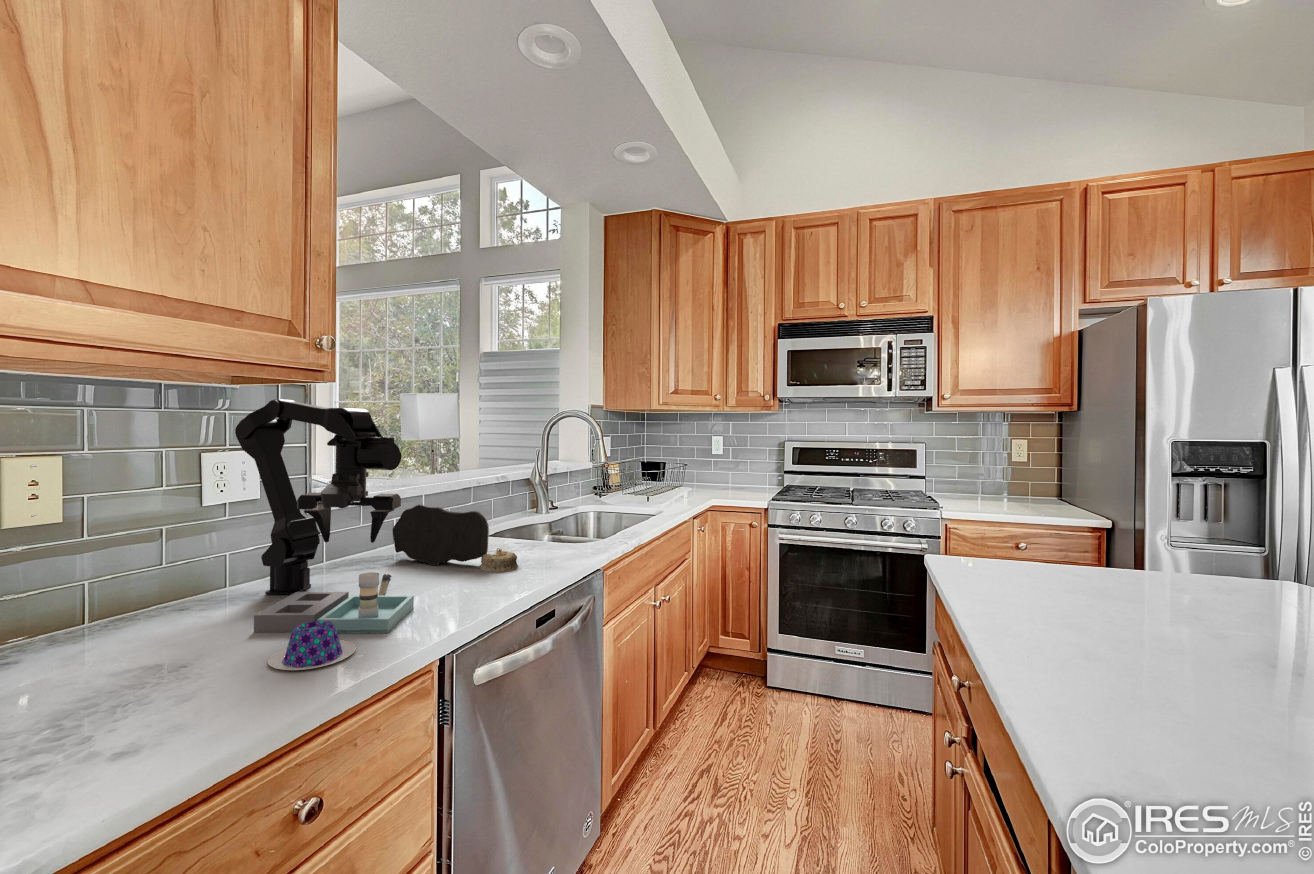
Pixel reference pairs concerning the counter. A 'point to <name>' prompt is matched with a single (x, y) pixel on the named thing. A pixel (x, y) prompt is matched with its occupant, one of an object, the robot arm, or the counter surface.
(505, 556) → the cake
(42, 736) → the counter surface
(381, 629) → the parts tray
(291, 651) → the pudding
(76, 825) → the counter surface
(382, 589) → the tomahawk
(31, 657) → the counter surface
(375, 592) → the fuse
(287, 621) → the block
